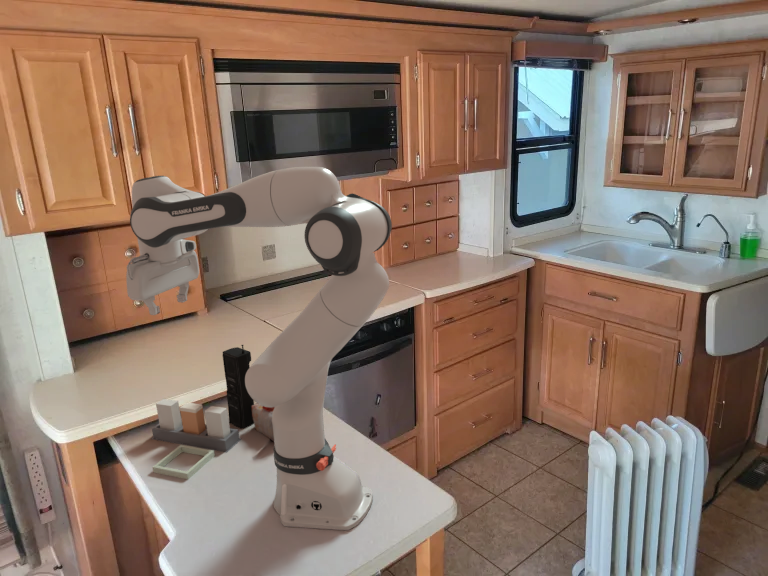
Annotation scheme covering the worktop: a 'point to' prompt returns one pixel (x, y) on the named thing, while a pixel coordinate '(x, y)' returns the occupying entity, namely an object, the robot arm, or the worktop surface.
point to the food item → (263, 419)
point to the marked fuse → (192, 418)
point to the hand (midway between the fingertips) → (169, 307)
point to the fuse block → (212, 438)
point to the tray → (179, 473)
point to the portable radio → (238, 387)
